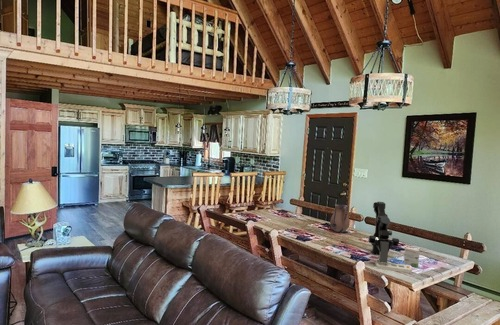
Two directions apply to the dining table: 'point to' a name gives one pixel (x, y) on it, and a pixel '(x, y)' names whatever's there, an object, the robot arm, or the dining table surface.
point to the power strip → (393, 267)
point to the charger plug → (383, 251)
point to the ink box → (411, 256)
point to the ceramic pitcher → (340, 218)
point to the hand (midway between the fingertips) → (384, 252)
